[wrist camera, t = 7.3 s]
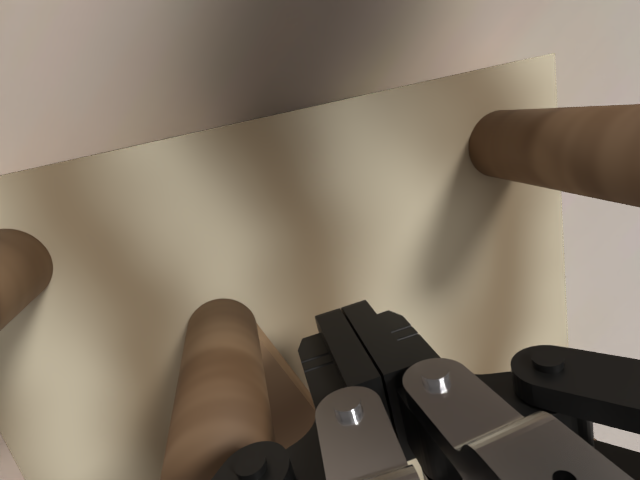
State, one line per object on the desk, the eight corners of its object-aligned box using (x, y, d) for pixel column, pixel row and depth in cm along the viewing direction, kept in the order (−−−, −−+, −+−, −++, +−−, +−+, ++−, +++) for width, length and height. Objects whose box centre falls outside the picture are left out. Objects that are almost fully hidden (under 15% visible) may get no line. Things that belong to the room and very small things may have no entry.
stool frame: (107, 567, 20) (19, 907, 11) (-75, 192, 15) (-494, 290, 6) (543, 415, 23) (734, 589, 14) (519, 60, 18) (793, 3, 9)
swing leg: (378, 477, 19) (462, 672, 12) (331, 510, 19) (390, 725, 12) (231, 285, 15) (237, 411, 9) (172, 324, 15) (132, 482, 8)
